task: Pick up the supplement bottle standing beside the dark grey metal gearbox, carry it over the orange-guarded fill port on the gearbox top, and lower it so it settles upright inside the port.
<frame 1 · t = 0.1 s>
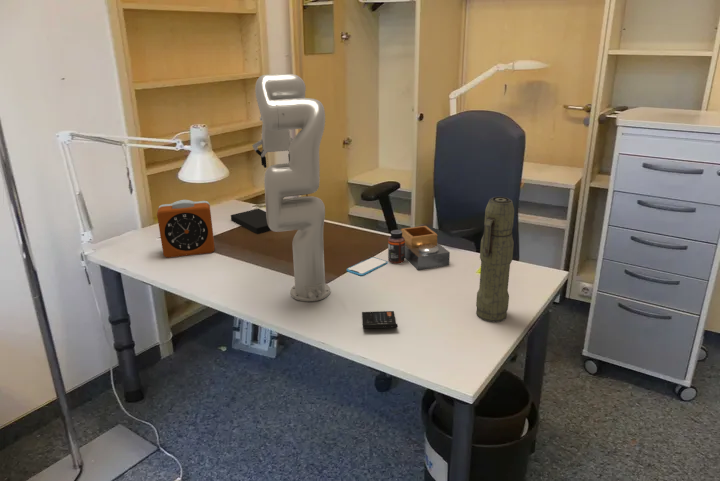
hand: (277, 165, 202), 31 cm above the table, tool pointing down, fingers open, 9 cm apart
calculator: (379, 324, 155), on the table
smartphone: (367, 268, 192), on the table
external hard drive: (258, 224, 237), on the table
supplement bottle: (396, 261, 196), on the table
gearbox: (421, 257, 199), on the table
alarm clock: (190, 252, 207), on the table
thermos: (491, 315, 158), on the table
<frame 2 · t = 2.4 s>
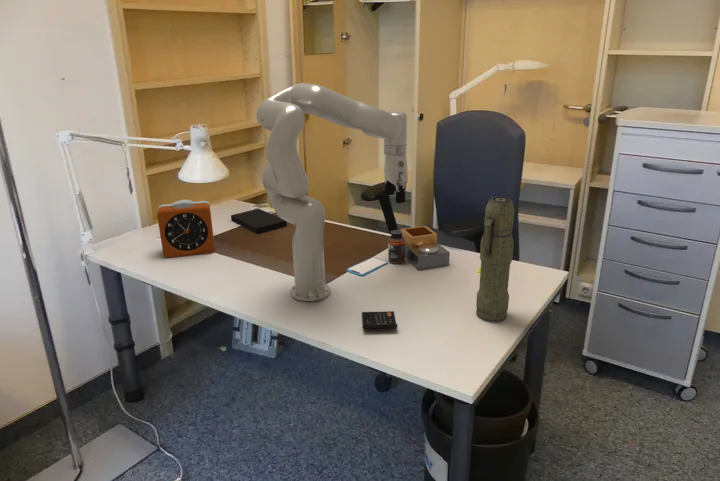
hand: (394, 198, 187), 23 cm above the table, tool pointing down, fingers open, 9 cm apart
nothing on the table moved.
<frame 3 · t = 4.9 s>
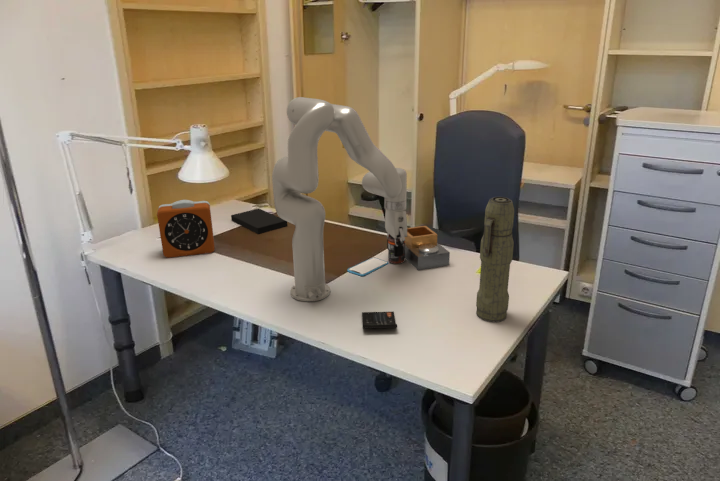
hand: (395, 252, 194), 4 cm above the table, tool pointing down, fingers closed on supplement bottle, 6 cm apart
supplement bottle: (396, 261, 196), on the table, touching gripper
everything else where it was.
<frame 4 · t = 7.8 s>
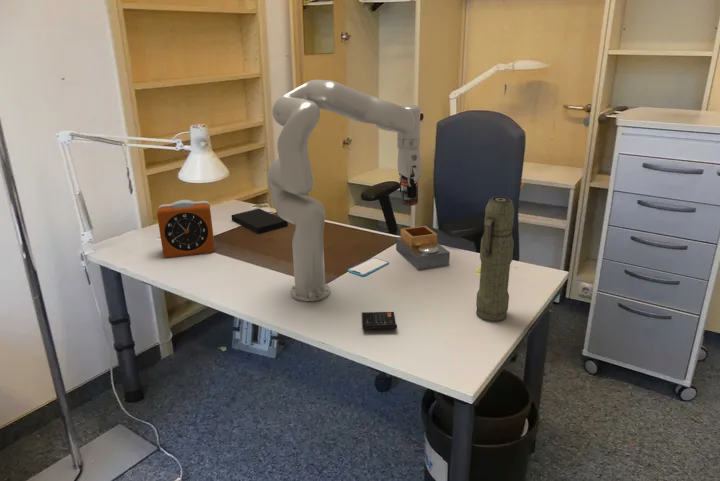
hand: (408, 194, 190), 24 cm above the table, tool pointing down, fingers closed on supplement bottle, 6 cm apart
supplement bottle: (409, 204, 191), point 20 cm above the table, touching gripper
everything else where it was.
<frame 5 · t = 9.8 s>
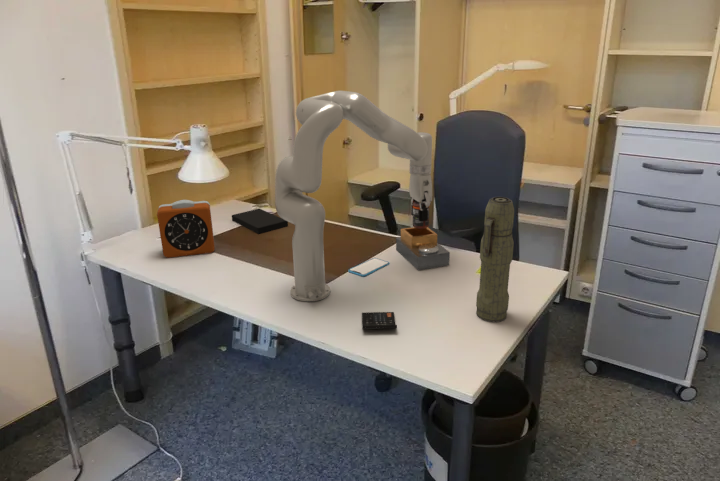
hand: (419, 217, 196), 14 cm above the table, tool pointing down, fingers closed on supplement bottle, 6 cm apart
supplement bottle: (420, 226, 198), point 11 cm above the table, touching gripper
everything else where it was.
when the fingers open (10 cm above the table, at t = 11.1 s): supplement bottle drops 2 cm, resting on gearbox.
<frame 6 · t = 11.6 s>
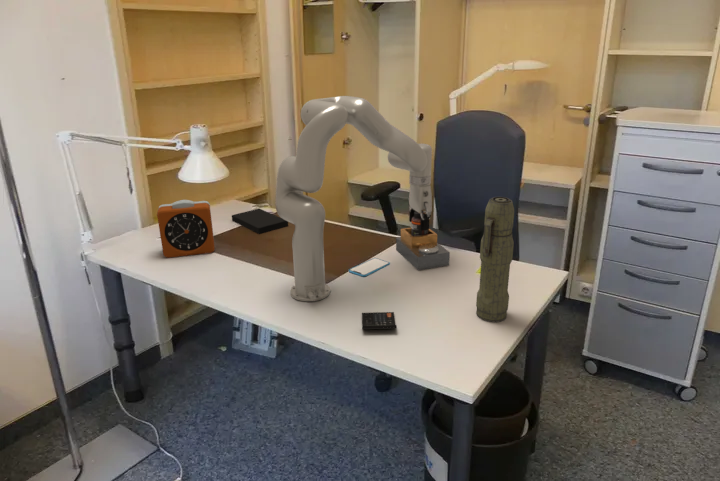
hand: (418, 225, 197), 11 cm above the table, tool pointing down, fingers open, 9 cm apart
supplement bottle: (419, 241, 200), point 5 cm above the table, touching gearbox
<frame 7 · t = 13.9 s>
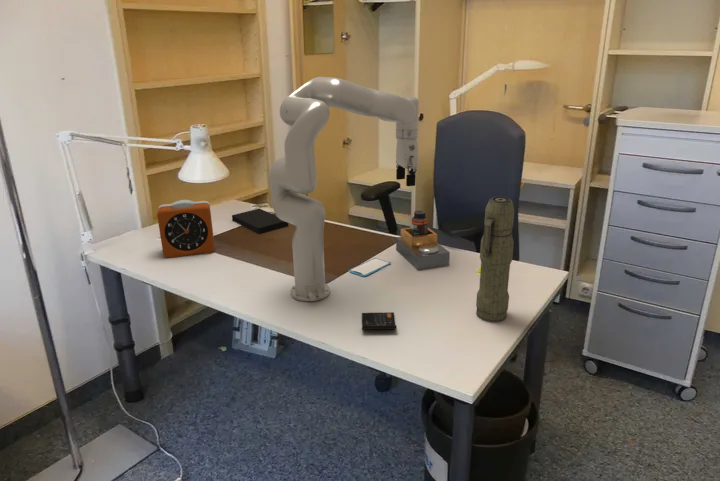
hand: (405, 182, 193), 27 cm above the table, tool pointing down, fingers open, 9 cm apart
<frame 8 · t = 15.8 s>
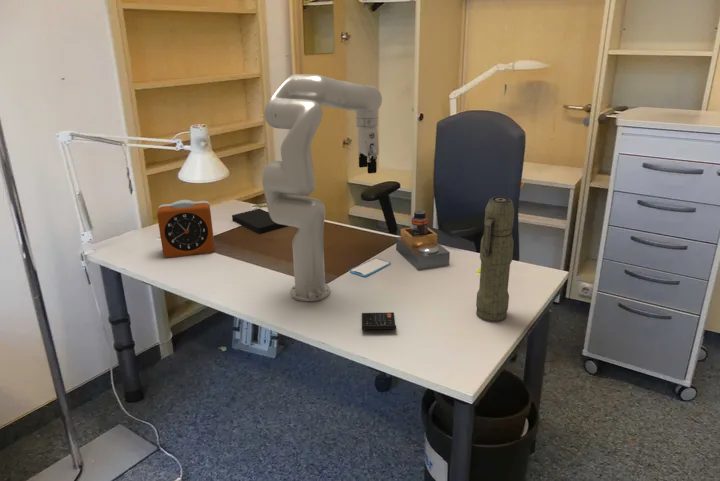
hand: (367, 170, 197), 30 cm above the table, tool pointing down, fingers open, 9 cm apart
at the end: supplement bottle 0.5 cm from the target spot on the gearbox, point 4.9 cm above the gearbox's base; supplement bottle tilted 0°; the gripper is holding nothing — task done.
